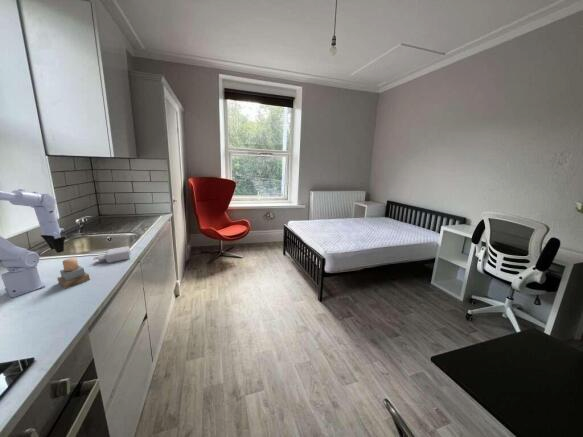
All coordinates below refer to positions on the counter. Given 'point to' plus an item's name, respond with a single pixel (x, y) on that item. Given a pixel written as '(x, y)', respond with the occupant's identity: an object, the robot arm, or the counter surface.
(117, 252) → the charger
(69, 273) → the upper block
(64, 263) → the cylinder
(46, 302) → the counter surface
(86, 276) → the base slab
